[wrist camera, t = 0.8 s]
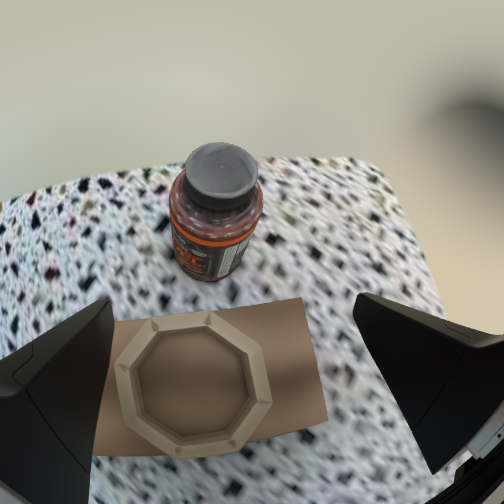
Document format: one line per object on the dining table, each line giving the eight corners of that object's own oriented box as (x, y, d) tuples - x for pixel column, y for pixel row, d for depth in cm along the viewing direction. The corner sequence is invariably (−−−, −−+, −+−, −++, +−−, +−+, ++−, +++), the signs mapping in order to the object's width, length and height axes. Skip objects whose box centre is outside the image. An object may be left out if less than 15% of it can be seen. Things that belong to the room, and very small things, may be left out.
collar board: (323, 418, 20) (346, 425, 17) (90, 451, 15) (72, 464, 11) (297, 300, 24) (315, 286, 21) (69, 326, 19) (48, 317, 15)
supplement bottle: (160, 252, 23) (141, 166, 13) (205, 210, 26) (217, 116, 16) (211, 298, 23) (227, 236, 13) (254, 249, 25) (295, 168, 15)
